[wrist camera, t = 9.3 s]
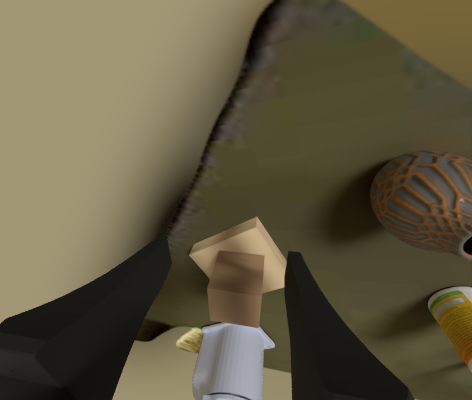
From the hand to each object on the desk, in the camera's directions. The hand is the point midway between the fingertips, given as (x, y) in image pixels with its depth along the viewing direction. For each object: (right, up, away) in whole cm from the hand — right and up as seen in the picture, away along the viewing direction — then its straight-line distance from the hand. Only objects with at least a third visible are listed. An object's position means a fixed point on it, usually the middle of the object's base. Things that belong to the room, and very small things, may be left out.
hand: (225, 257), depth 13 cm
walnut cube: (+1, -5, +12) cm, 13 cm away
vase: (+15, +5, +7) cm, 18 cm away
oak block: (+2, -3, +14) cm, 15 cm away
